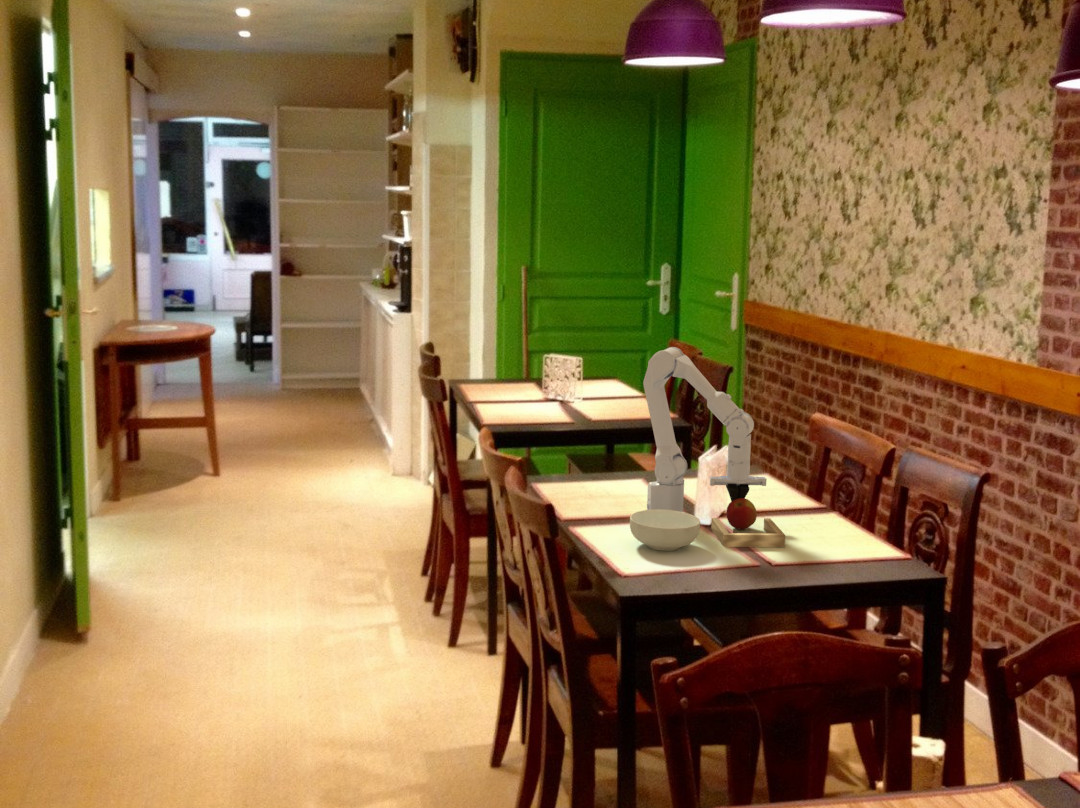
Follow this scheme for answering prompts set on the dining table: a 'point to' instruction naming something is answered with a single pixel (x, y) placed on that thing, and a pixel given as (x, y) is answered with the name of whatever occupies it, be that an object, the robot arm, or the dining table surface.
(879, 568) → the dining table surface
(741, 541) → the shallow wooden tray
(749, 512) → the apple
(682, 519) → the cereal bowl
